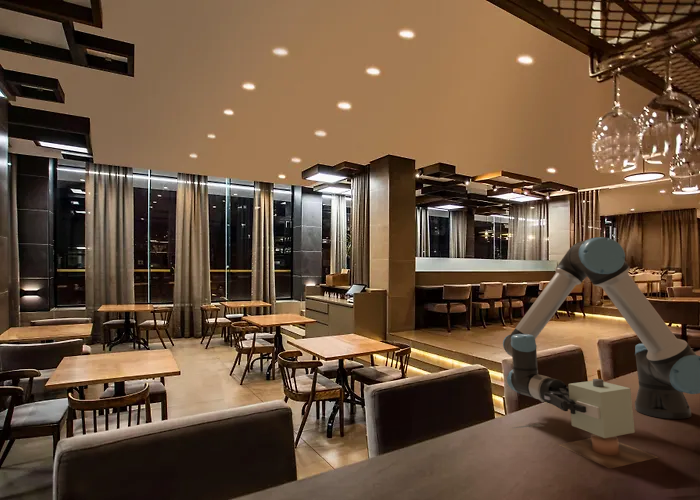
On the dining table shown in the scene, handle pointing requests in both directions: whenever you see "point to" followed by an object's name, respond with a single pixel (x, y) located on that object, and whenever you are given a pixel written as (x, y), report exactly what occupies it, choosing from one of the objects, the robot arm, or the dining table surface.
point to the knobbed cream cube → (603, 408)
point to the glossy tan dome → (605, 445)
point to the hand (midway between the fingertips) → (615, 410)
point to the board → (610, 461)
